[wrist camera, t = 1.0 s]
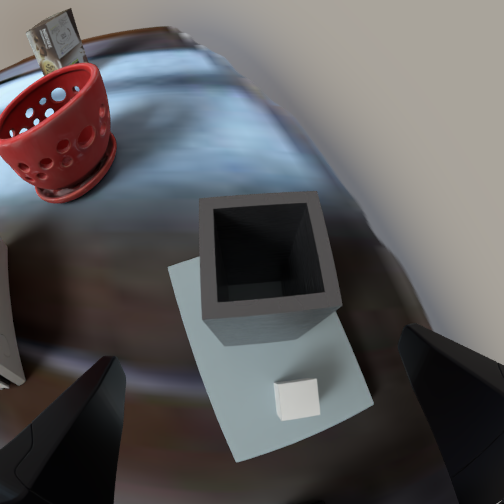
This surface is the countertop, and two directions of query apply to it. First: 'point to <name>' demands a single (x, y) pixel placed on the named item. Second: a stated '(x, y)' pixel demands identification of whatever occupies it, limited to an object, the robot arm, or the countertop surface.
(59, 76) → the plant pot
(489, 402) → the robot arm
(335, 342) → the base plate
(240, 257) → the steel sleeve
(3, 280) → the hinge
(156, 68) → the countertop surface
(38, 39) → the coffee box
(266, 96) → the countertop surface
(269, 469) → the countertop surface
